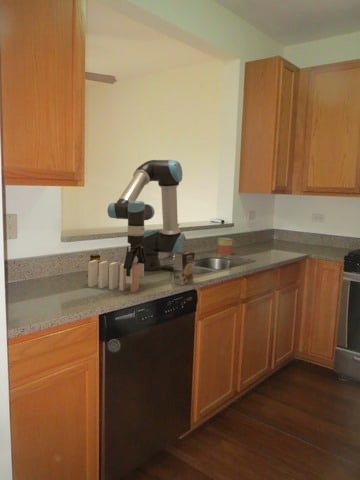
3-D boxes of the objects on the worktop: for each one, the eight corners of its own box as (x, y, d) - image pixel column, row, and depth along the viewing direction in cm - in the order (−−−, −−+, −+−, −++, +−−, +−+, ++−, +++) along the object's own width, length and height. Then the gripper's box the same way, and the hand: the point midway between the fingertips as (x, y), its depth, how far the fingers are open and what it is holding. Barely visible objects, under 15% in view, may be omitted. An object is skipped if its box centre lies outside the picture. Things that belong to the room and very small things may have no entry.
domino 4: (119, 290, 185) (119, 265, 183) (124, 287, 190) (125, 262, 189) (122, 290, 184) (123, 265, 183) (128, 287, 190) (128, 263, 188)
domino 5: (130, 291, 183) (130, 266, 181) (135, 288, 189) (136, 263, 187) (133, 292, 183) (134, 266, 181) (139, 289, 188) (139, 264, 187)
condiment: (101, 278, 209) (101, 256, 208) (85, 278, 208) (85, 256, 206) (101, 275, 217) (101, 253, 215) (85, 275, 215) (85, 253, 213)
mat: (91, 283, 199) (91, 281, 199) (147, 289, 190) (147, 288, 190) (80, 288, 189) (80, 286, 188) (138, 295, 180) (138, 294, 180)
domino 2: (98, 287, 188) (98, 263, 186) (104, 285, 194) (104, 260, 192) (101, 288, 187) (101, 263, 186) (107, 285, 193) (108, 261, 191)
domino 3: (108, 289, 186) (109, 264, 185) (114, 286, 192) (114, 261, 190) (112, 289, 186) (112, 264, 184) (117, 286, 191) (118, 262, 190)
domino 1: (88, 286, 189) (88, 261, 188) (94, 283, 195) (94, 259, 194) (91, 287, 189) (91, 262, 187) (97, 284, 195) (97, 260, 193)
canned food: (233, 254, 303) (234, 238, 302) (230, 256, 293) (231, 240, 291) (218, 252, 307) (219, 237, 305) (215, 255, 296) (216, 239, 295)
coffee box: (182, 285, 200) (183, 254, 198) (173, 283, 204) (174, 252, 202) (193, 282, 207) (194, 252, 205) (184, 280, 211) (185, 250, 209)
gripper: (132, 238, 169) (131, 286, 172) (153, 232, 193) (152, 275, 196) (116, 237, 171) (115, 285, 174) (139, 231, 195) (138, 273, 198)
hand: (135, 279), depth 185 cm, fingers open, 13 cm apart
